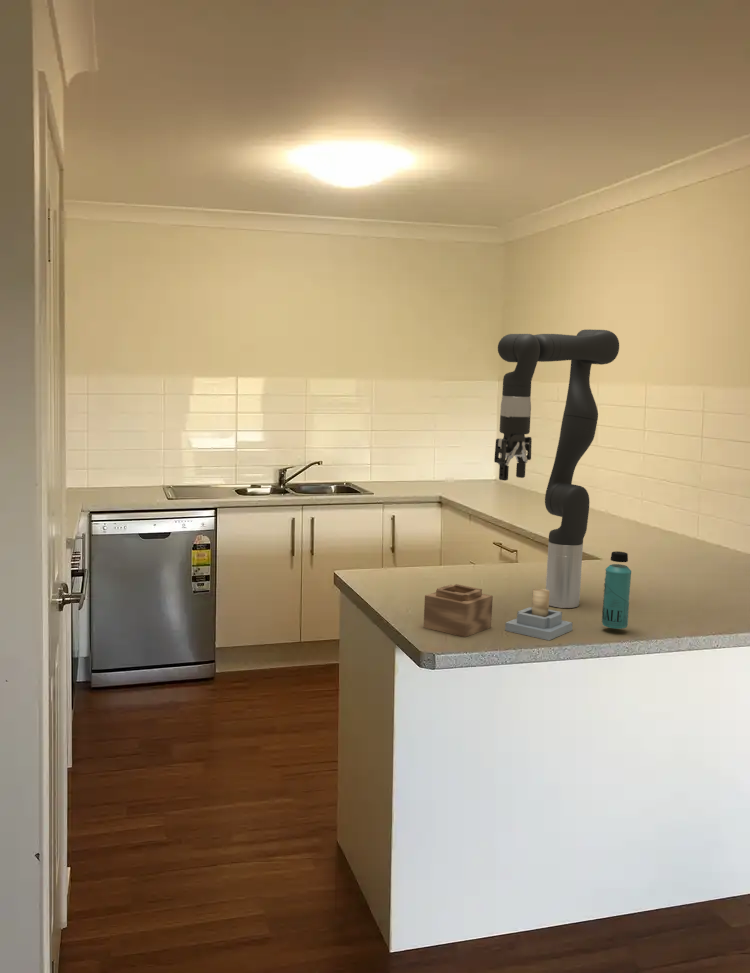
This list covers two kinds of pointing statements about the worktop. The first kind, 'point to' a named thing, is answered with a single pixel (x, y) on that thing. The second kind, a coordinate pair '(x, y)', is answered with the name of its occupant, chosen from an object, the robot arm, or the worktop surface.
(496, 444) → the robot arm
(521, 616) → the slate dock
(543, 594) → the birch peg
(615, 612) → the beverage bottle
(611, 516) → the worktop surface
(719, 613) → the worktop surface
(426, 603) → the walnut dock
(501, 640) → the worktop surface
